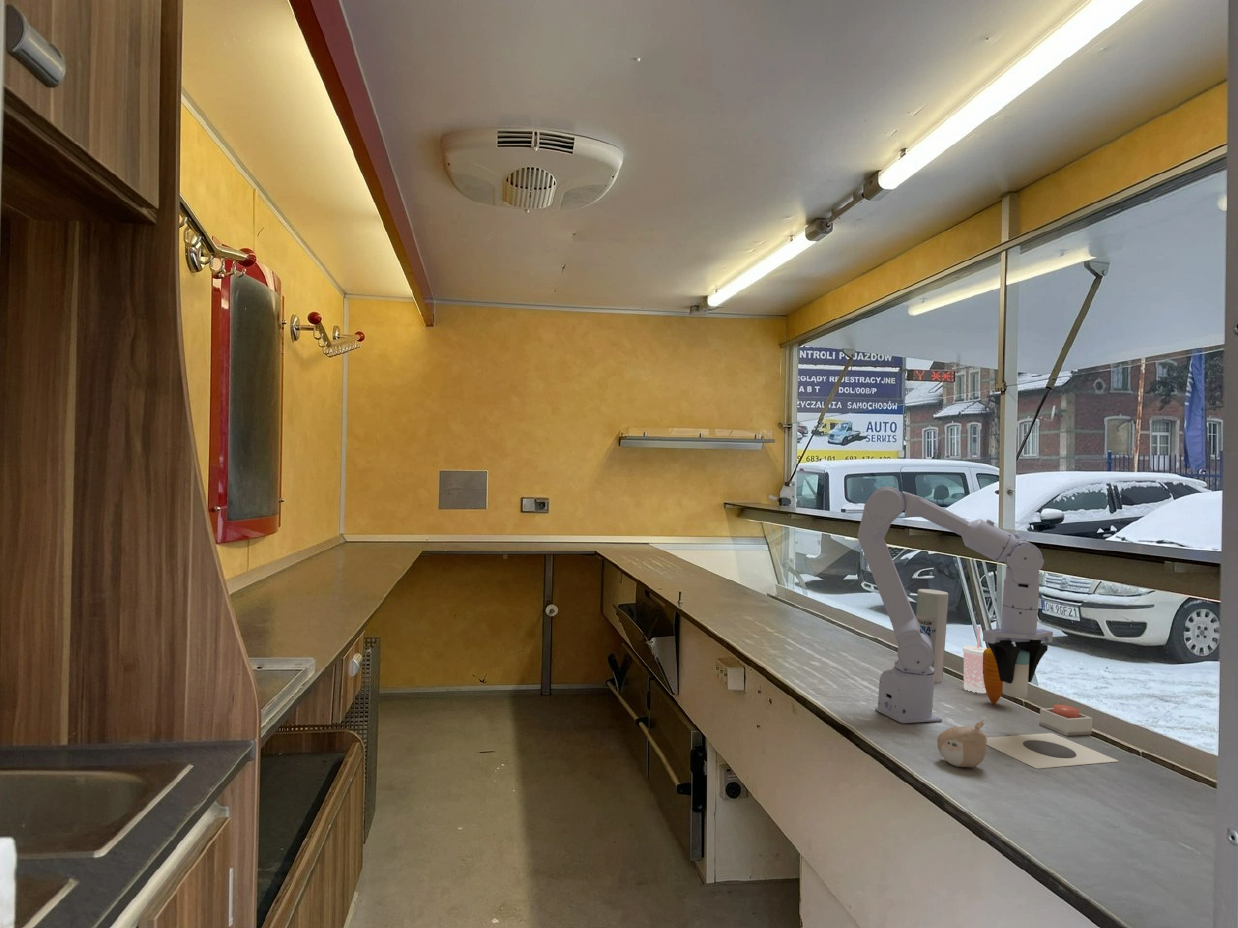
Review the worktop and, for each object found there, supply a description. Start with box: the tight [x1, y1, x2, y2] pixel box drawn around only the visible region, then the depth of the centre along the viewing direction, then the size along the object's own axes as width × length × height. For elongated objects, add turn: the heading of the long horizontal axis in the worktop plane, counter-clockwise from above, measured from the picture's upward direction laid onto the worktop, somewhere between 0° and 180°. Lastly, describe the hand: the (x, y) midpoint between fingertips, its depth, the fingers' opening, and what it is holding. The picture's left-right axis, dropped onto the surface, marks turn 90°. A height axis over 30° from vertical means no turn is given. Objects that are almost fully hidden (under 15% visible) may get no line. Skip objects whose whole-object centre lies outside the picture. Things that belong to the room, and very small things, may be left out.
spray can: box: [915, 588, 949, 684], centre depth 171 cm, size 6×6×20 cm
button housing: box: [1038, 707, 1093, 737], centre depth 140 cm, size 6×6×3 cm
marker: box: [1002, 650, 1030, 699], centre depth 136 cm, size 4×4×8 cm
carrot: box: [983, 647, 1003, 705], centre depth 154 cm, size 5×5×15 cm
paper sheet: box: [986, 732, 1120, 770], centre depth 128 cm, size 18×13×1 cm
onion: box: [937, 720, 987, 769], centre depth 119 cm, size 7×6×8 cm
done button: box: [1052, 704, 1080, 719], centre depth 140 cm, size 4×4×2 cm
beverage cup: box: [962, 625, 988, 694], centre depth 164 cm, size 6×6×14 cm
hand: (1015, 681), depth 136 cm, fingers closed on marker, 4 cm apart
